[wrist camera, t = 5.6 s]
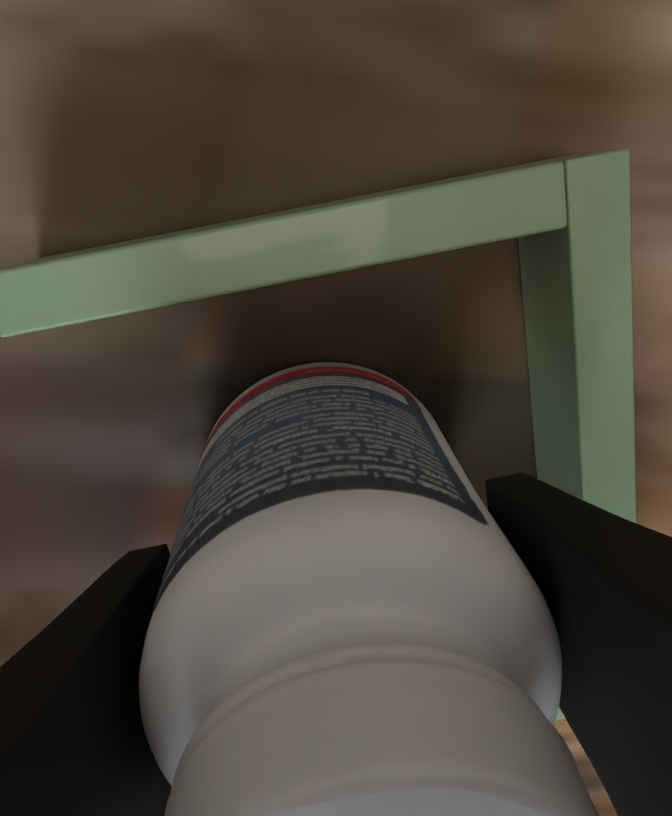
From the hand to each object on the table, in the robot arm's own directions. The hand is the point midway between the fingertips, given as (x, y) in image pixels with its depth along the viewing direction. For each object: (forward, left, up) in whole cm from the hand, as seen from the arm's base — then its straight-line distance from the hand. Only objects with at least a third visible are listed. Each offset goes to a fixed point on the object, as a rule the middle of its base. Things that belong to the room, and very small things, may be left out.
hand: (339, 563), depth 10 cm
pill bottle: (0, 0, -3) cm, 3 cm away
